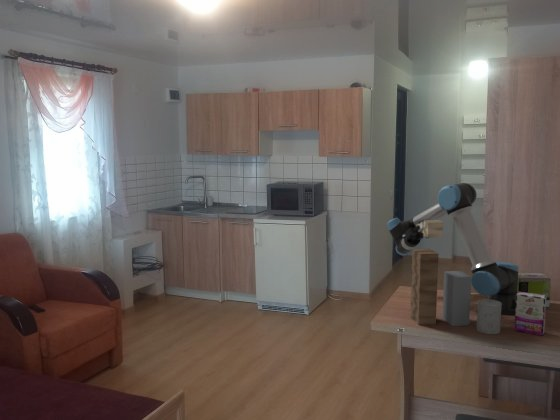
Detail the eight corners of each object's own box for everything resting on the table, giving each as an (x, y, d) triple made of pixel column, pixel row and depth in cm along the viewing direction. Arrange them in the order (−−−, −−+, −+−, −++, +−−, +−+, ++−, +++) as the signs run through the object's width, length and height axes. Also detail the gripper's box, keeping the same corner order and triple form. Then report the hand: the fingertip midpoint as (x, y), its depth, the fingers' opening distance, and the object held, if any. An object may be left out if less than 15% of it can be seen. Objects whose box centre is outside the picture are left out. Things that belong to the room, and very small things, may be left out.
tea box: (541, 301, 259) (543, 272, 257) (549, 307, 250) (551, 278, 247) (510, 300, 261) (511, 272, 259) (517, 307, 251) (519, 277, 249)
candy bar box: (544, 332, 219) (547, 295, 216) (542, 336, 214) (545, 298, 212) (515, 327, 225) (518, 290, 222) (513, 330, 221) (516, 293, 218)
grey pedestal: (442, 318, 236) (444, 271, 233) (459, 317, 237) (461, 270, 234) (451, 326, 226) (453, 277, 223) (469, 325, 227) (471, 276, 224)
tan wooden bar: (411, 229, 251) (412, 215, 250) (425, 229, 251) (426, 215, 250) (427, 237, 231) (428, 222, 230) (442, 237, 232) (443, 221, 231)
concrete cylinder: (505, 331, 220) (506, 303, 218) (490, 335, 215) (491, 307, 213) (486, 324, 228) (487, 297, 226) (471, 328, 223) (472, 301, 222)
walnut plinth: (410, 317, 238) (412, 249, 233) (427, 316, 239) (429, 248, 234) (418, 324, 228) (420, 254, 223) (435, 324, 229) (438, 253, 224)
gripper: (427, 247, 262) (444, 231, 240) (396, 248, 260) (411, 232, 239) (425, 233, 265) (442, 216, 243) (394, 234, 263) (408, 217, 241)
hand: (426, 224), depth 241 cm, fingers closed on tan wooden bar, 3 cm apart
